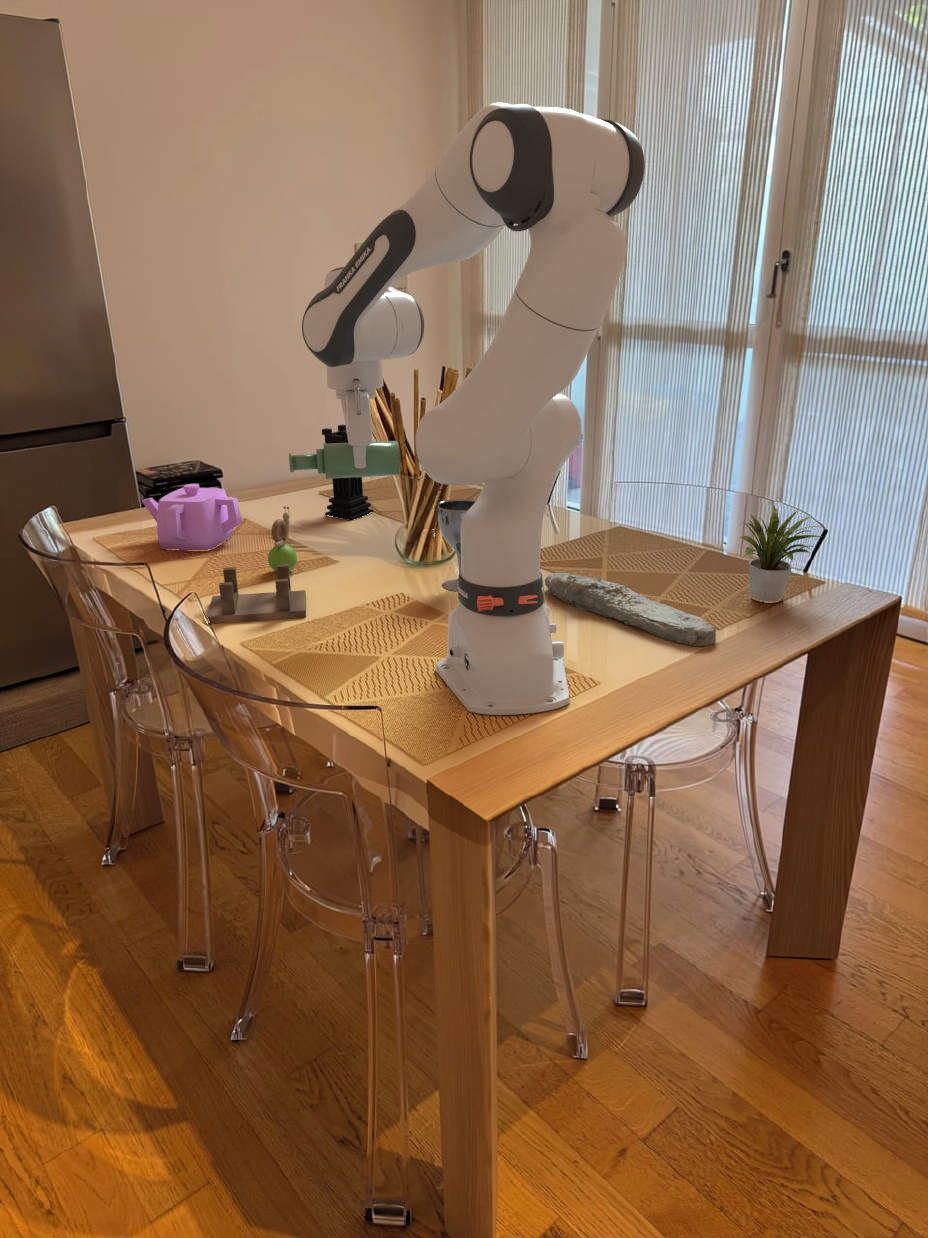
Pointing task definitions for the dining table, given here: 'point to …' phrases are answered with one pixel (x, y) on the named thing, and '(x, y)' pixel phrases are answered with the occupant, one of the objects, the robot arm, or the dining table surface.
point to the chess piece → (346, 486)
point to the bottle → (350, 460)
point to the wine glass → (453, 529)
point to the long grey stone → (630, 608)
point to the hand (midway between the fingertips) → (359, 462)
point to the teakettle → (194, 517)
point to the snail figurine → (281, 544)
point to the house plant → (772, 556)
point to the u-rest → (256, 600)
